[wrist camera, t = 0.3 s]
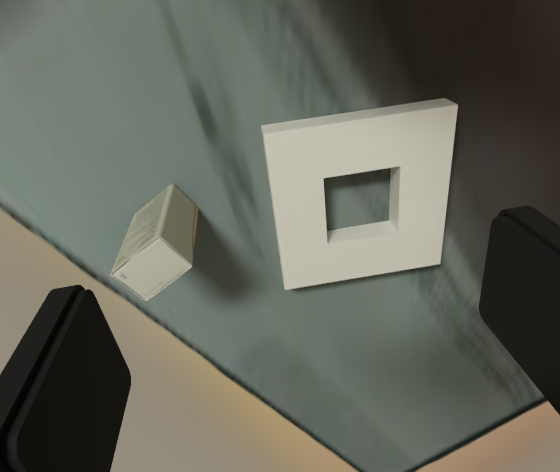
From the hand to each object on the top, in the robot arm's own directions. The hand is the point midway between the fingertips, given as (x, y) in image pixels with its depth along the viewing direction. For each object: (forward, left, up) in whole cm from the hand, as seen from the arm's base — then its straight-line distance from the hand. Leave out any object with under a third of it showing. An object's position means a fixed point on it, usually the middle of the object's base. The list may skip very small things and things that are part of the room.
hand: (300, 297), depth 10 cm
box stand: (+16, +11, -36) cm, 41 cm away
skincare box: (+14, -11, -36) cm, 40 cm away
